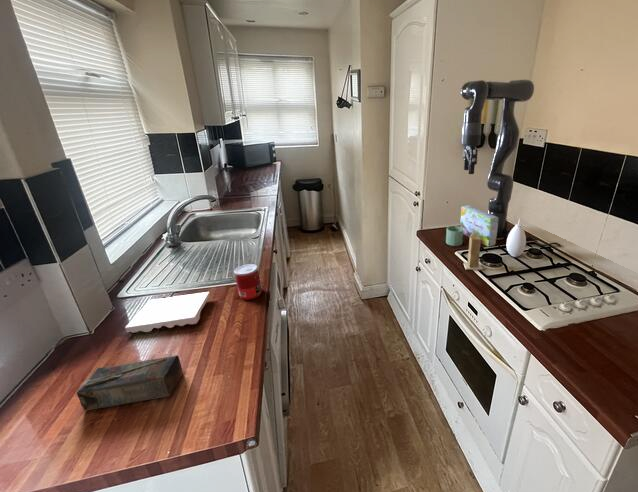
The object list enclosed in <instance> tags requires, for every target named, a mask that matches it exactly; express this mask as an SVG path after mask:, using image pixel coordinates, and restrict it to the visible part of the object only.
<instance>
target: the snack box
mask: <svg viewBox="0 0 638 492" xmlns="http://www.w3.org/2000/svg"><path fill="white" fill-rule="evenodd" d="M459 223H460V224H459V227H462V228H463V229H464V231H463V235H464V236H466V237H468V238H470V236H479V237H480V239H481V244H482V245H483V246H485V247H488V248H489V247H493V246H496V244H497V240H496V236H497V227H498V217H496V216H494V215H491V214H489V213H488V212H486V211H484V210H481V209H478V208H476V207H474V206H471V205H463V206H461V208H460V221H459Z"/></svg>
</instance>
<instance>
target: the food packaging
mask: <svg viewBox="0 0 638 492" xmlns="http://www.w3.org/2000/svg"><path fill="white" fill-rule="evenodd" d="M210 297H211V293H210V291H204V292H203V291H202V292H196V293H190V294H181V295H175V296H168V297H162V298H154V299H149V300H148V301H147V302H146V303H145V304H144V306H143V307H142V308H141V309H140V310H139V311H138V312H137V313H136V314H135V316H134V317H133V318H132V319H131V321H129V323H128V324H127V325H125V329H124V330H125V331H126V333H127V334H128V333H133V334H134V333H138V332H145V333H149V332H151V331H152V330H153V329H154V328H155V329H160V328H162V327H167V328H169V329H170V328H174V327H175V326H179V327H184V326H185V325H197V323H198V322H199V320H200V319H201V313H202V310H203V308H204V307H205V305H206V303H207V302H208V300H209V298H210Z"/></svg>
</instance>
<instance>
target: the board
mask: <svg viewBox="0 0 638 492" xmlns="http://www.w3.org/2000/svg"><path fill="white" fill-rule="evenodd" d="M462 265H463V267H464V269H465V271H483V270H484V268H483V266H482V264H481V263H480V262H479V264H478V268H469V266H468V262H463V264H462Z"/></svg>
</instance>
